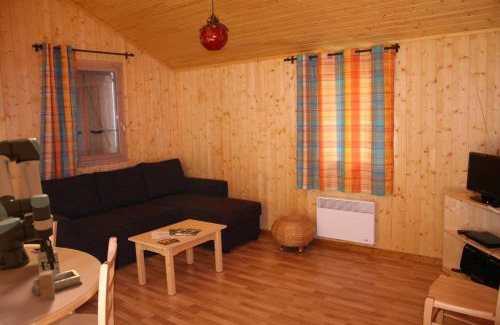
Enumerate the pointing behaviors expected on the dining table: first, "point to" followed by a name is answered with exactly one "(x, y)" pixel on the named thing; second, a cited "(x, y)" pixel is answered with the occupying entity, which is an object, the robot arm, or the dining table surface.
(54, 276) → the rail plate
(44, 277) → the box
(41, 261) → the ink box
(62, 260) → the dining table surface
